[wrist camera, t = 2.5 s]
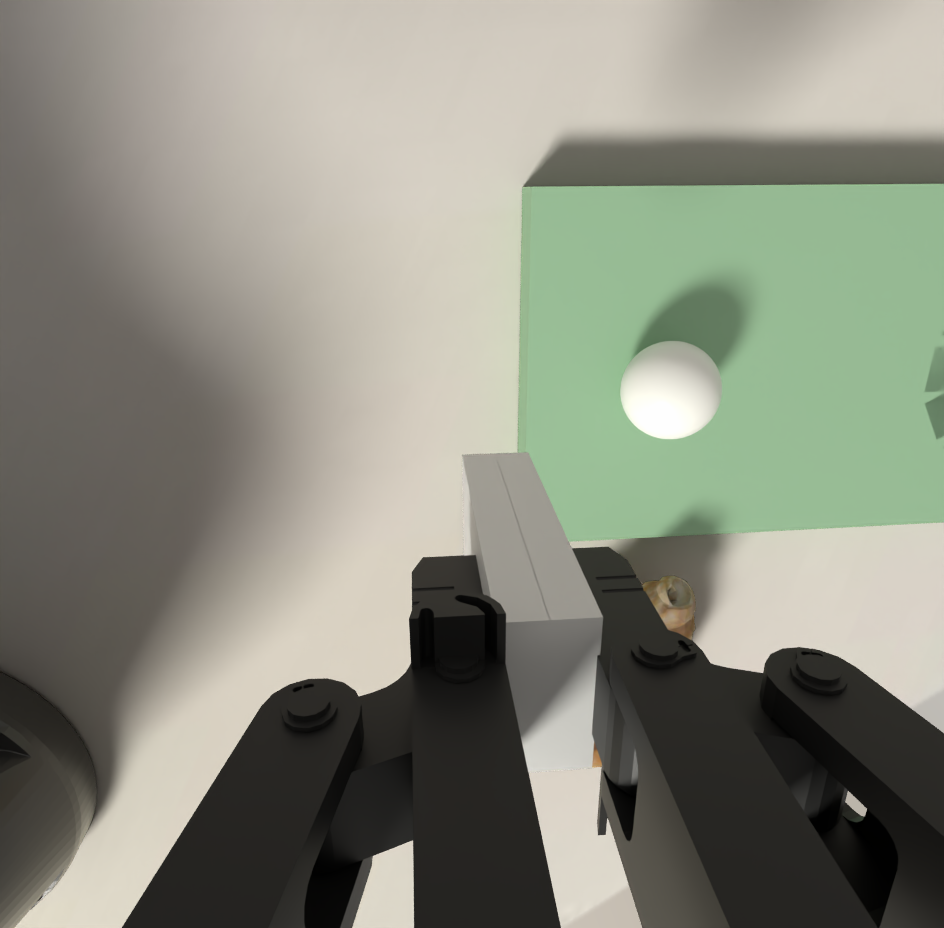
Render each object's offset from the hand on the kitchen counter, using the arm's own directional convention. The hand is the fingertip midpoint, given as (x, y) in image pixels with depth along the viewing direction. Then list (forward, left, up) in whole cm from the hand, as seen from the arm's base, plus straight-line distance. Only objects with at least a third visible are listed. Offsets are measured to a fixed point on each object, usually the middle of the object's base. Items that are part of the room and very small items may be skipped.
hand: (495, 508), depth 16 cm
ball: (+8, 0, -10) cm, 12 cm away
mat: (+17, 0, -13) cm, 21 cm away
